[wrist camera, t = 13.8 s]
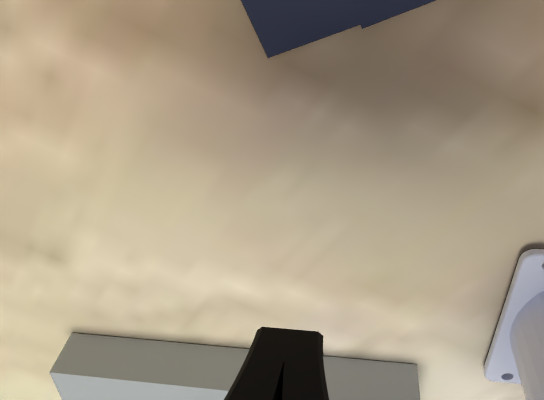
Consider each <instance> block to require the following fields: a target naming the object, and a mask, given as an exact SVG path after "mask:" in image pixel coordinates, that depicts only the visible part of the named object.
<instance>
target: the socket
mask: <svg viewBox="0 0 544 400" xmlns="http://www.w3.org/2000/svg"><path fill="white" fill-rule="evenodd" d="M249 350H250V349H242V348H231V347H220V346H209V345H198V344H188V343H177V342H166V341H155V340H144V339H133V338H122V337H111V336H101V335H90V334H79V333H72V334H71V336H70V337H69V339H68V341H67V343H66V344H65V346H64V348H63V350H62V351H61V353H60V355H59V357H58V358H57V360H56V362H55V364H54V365H53V367H52V369H51V371H50V375H51V377H52V379H53V381H54V383H55V385H56V388H57V390H58V392H59V394H60V396H61V398H62V400H224V398H225V397H226V395H227V393H228V391H229V390H230V388H231V386H232V384H233V382H234V381H235V379H236V377H237V375H238V373H239V371H240V369H241V367H242V365H243V363H244V361H245V359H246V356H247V354H248V352H249ZM323 360H324V370H325V377H326V384H327V390H328V396H329V400H420V393H419V383H418V373H417V365H416V364H405V363H394V362H383V361H373V360H362V359H351V358H340V357H329V356H323Z"/></svg>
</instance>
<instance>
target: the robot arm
mask: <svg viewBox="0 0 544 400" xmlns="http://www.w3.org/2000/svg"><path fill="white" fill-rule="evenodd" d="M484 375H485V377H486V379H488V380H490V381H494V382H504V383H515V384H522V388H523V391H524V394H525V398H526V400H544V249H530V250H528V251H525V252H524V253H523V254H522V255H521V256H520V258H519V261H518V264H517V267H516V270H515V273H514V276H513V279H512V283H511V286H510V289H509V292H508V295H507V298H506V301H505V304H504V307H503V310H502V313H501V316H500V319H499V322H498V326H497V329H496V332H495V335H494V338H493V341H492V344H491V347H490V350H489V353H488V356H487V359H486V362H485V365H484ZM224 400H329V396H328V390H327V384H326V377H325V370H324V360H323V335H321V334H320V333H319V332H316V331H304V330H292V329H281V328H269V327H261V328H260V329H258V330H257V332H256V335H255V338H254V340H253V343H252V345H251V347H250V350H249V352H248V354H247V356H246V359H245V361H244V363H243V365H242V367H241V369H240V371H239V373H238V375H237V377H236V379H235V381H234V382H233V384H232V386H231V388H230V390H229V391H228V393H227V395H226V397H225V398H224Z"/></svg>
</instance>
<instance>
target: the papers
mask: <svg viewBox="0 0 544 400" xmlns="http://www.w3.org/2000/svg"><path fill="white" fill-rule="evenodd" d="M241 1H242V3H243V6H244V8H245V10H246V12H247V14H248V16H249V18H250V21H251V23H252V25H253V27H254V29H255V31H256V33H257V35H258V38H259V40H260V42H261V44H262V46H263V48H264V50H265V53H266V55H267V57H268V58H269V57H272V56H275V55H278V54H280V53H283V52H286V51H289V50H291V49H294V48H297V47H300V46H303V45H305V44H308V43H311V42H314V41H316V40H319V39H322V38H325V37H327V36H330V35H333V34H336V33H338V32H341V31H344V30H347V29H349V28H352V27H355V26H358V25H361V27H362V29H363V28H365V27H368V26H371V25H373V24H376V23H378V22H381V21H383V20H386V19H389V18H391V17H394V16H396V15H399V14H402V13H404V12H407V11H409V10H412V9H415V8H417V7H420V6H422V5H425V4H427V3H430V2H433V1H435V0H241Z"/></svg>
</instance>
